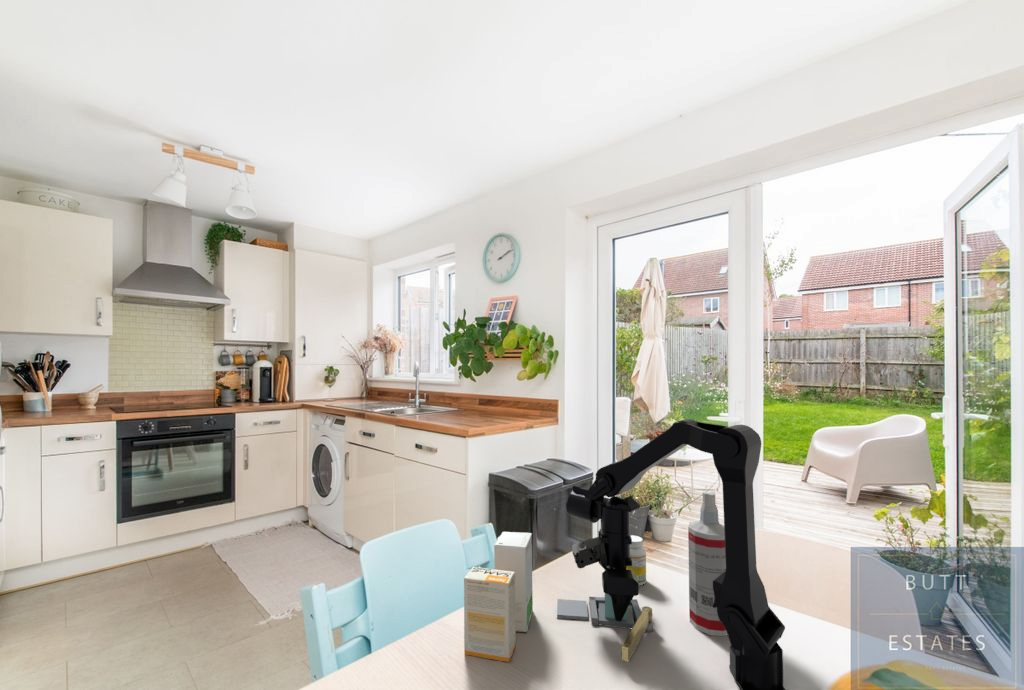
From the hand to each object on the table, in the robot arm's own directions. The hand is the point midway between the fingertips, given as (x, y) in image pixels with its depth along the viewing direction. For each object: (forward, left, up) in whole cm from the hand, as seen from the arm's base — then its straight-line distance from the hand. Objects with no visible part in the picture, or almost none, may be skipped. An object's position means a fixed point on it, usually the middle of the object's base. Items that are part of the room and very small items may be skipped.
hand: (615, 608), depth 89 cm
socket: (0, 0, -2) cm, 2 cm away
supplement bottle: (-6, -16, -2) cm, 17 cm away
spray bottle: (-18, 0, -2) cm, 18 cm away
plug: (0, 0, -2) cm, 2 cm away
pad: (+8, -1, -2) cm, 9 cm away
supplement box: (+23, +13, -2) cm, 27 cm away
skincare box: (+20, +3, -2) cm, 20 cm away
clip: (-3, +9, 0) cm, 9 cm away
